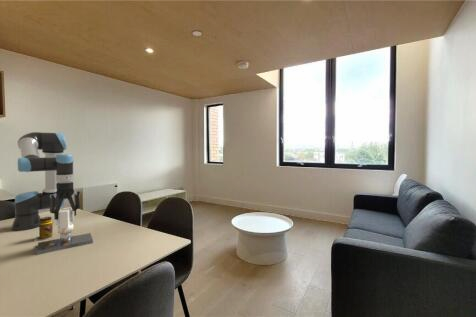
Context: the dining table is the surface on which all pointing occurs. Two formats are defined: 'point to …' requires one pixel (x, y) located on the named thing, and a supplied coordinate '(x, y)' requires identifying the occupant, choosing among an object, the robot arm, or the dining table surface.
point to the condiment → (45, 229)
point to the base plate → (60, 245)
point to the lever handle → (65, 221)
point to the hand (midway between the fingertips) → (65, 223)
